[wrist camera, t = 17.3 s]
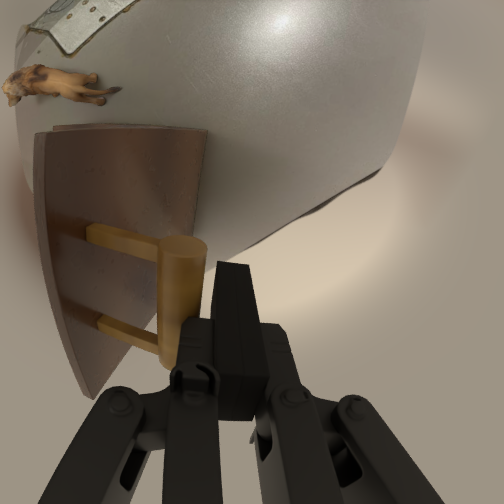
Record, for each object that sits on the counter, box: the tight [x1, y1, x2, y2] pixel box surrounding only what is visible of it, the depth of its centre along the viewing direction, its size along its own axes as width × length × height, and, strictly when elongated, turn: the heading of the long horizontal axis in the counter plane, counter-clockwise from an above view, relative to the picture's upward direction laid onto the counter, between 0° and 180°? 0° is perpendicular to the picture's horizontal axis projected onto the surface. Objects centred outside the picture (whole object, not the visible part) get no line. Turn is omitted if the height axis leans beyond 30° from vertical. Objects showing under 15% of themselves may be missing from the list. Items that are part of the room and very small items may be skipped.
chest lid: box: [33, 127, 207, 400], centre depth 16 cm, size 16×14×6 cm
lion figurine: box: [2, 64, 120, 107], centre depth 20 cm, size 15×5×9 cm, turn 75°
